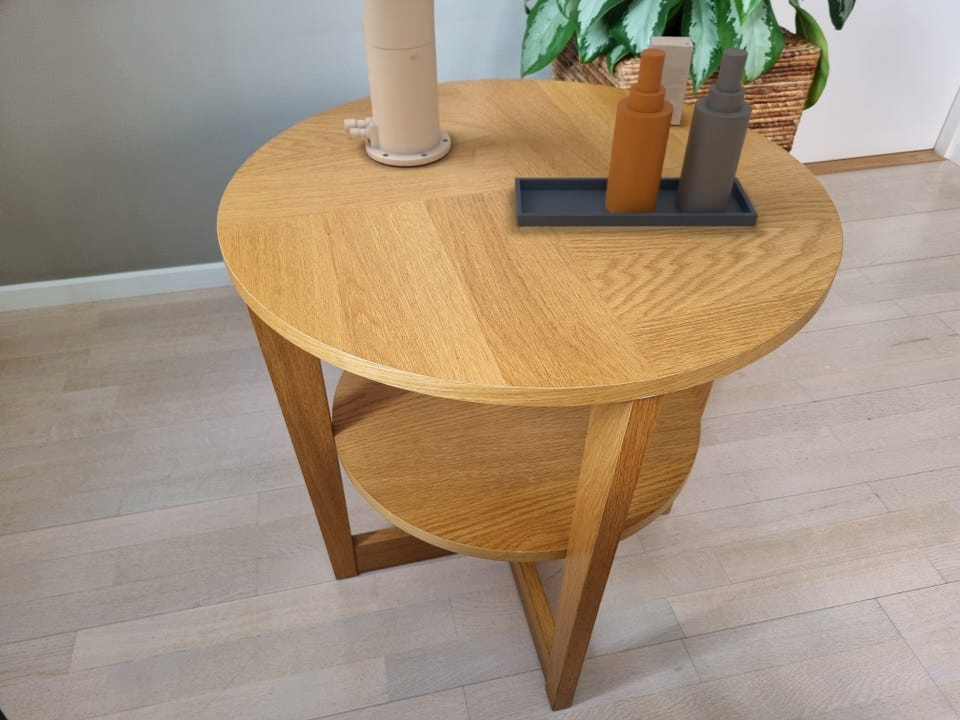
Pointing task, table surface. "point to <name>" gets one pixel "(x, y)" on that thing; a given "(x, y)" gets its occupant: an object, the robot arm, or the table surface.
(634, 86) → the amber bottle
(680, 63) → the cosmetic box
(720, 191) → the grey bottle
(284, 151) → the table surface
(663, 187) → the tray
